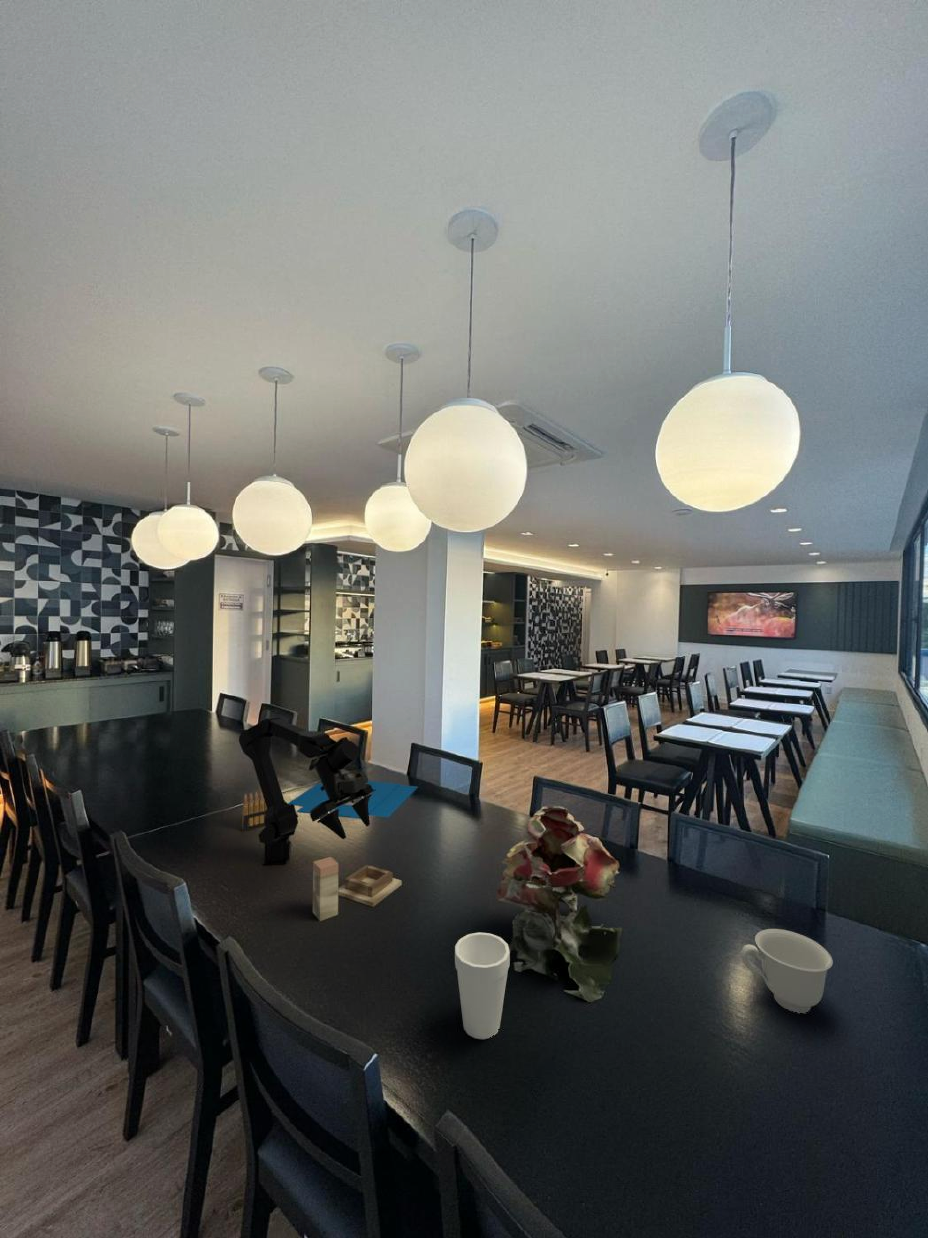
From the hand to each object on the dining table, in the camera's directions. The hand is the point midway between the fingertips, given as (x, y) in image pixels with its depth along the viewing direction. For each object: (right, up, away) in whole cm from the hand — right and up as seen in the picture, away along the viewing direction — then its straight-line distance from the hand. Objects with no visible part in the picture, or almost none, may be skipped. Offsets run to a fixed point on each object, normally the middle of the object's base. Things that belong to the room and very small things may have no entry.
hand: (356, 832), depth 133 cm
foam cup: (+31, -15, -45) cm, 56 cm away
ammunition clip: (-41, -14, +38) cm, 58 cm away
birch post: (-5, -14, -12) cm, 19 cm away
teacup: (+87, -16, -38) cm, 96 cm away
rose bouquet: (+48, -15, -23) cm, 55 cm away
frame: (-16, -15, +66) cm, 69 cm away
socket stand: (+3, -14, -1) cm, 15 cm away
